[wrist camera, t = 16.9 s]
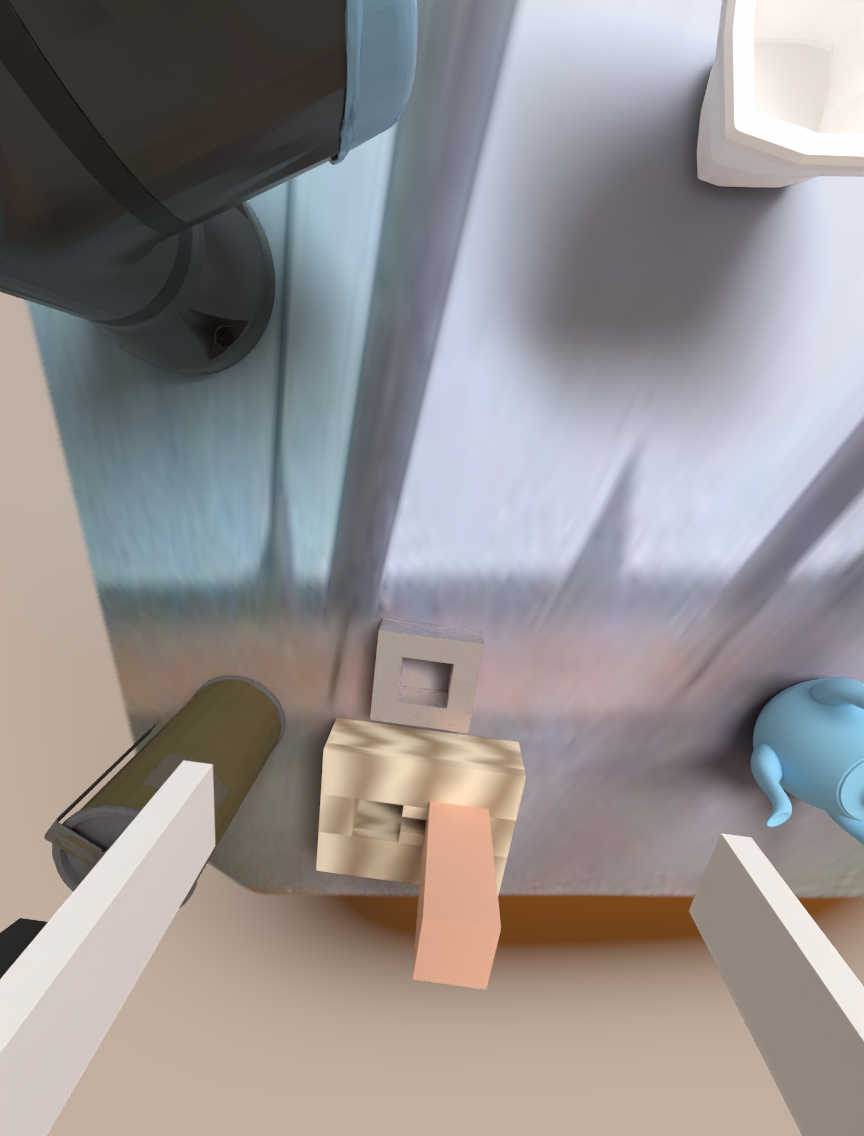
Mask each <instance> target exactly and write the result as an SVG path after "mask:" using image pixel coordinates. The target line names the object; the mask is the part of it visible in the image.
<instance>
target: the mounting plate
mask: <svg viewBox="0 0 864 1136" xmlns="http://www.w3.org/2000/svg"><path fill="white" fill-rule="evenodd" d="M525 779H526V774H525V770H524V765H523V761H522V756H521V752H520V747H519V742H514V741H507V740H499V739H492V738H484V737H477V736H470V735H462V734H455V733H447V732H440V731H433V730H425V729H418V728H410V727H403V726H396V725H388V724H381V723H373V722H366V721H359V720H351V719H344V718H336V721H335V723H334V725H333V728H332V730H331V733H330V735H329V737H328V740H327V742H326V745H325V747H324V750H323V767H322V783H321V800H320V816H319V833H318V849H317V866H316V871H324V872H331V873H338V874H346V875H353V876H360V877H367V878H375V879H382V880H389V881H397V882H404V883H411V884H418V885H420V871H421V857H422V849H423V842H424V836H425V829H426V823H427V817H428V810H429V804H430V801H434V802H442V803H449V804H456V805H464V806H471V807H478V808H486V809H489V815H490V825H491V835H492V845H493V854H494V864H495V874H496V884H497V894H498V895H499V891H500V886H501V882H502V878H503V873H504V869H505V865H506V861H507V856H508V852H509V848H510V844H511V839H512V835H513V831H514V826H515V822H516V818H517V814H518V809H519V805H520V801H521V797H522V792H523V788H524V784H525Z"/></svg>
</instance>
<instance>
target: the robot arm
mask: <svg viewBox="0 0 864 1136" xmlns="http://www.w3.org/2000/svg"><path fill="white" fill-rule="evenodd" d="M416 58H417V0H0V292H3V293H6V294H9V295H12V296H16V297H18V298H22V299H25V300H28V301H31V302H34V303H37V304H41V305H44V306H47V307H50V308H53V309H56V310H59V311H62V312H65V313H68V314H71V315H74V316H78V317H81V318H84V319H87V320H89V321H90V322H91V323H93V324H94V325H95V326H96V327H98V328H99V329H100V330H101V331H103V332H104V333H105V334H106V335H108V336H109V337H110V338H111V339H113V340H114V341H115V342H116V343H118V344H119V345H120V346H121V347H123V348H124V349H125V350H127V351H128V352H130V353H131V354H133V355H134V356H136V357H138V358H140V359H142V360H144V361H146V362H148V363H150V364H153V365H155V366H158V367H162V368H166V369H170V370H174V371H178V372H182V373H188V374H206V373H212V372H216V371H219V370H222V369H225V368H227V367H229V366H231V365H233V364H235V363H236V362H238V361H239V360H241V359H242V358H243V357H244V356H246V355H247V354H248V353H249V352H250V351H251V349H252V348H253V347H254V346H255V345H256V343H257V342H258V340H259V339H260V337H261V336H262V334H263V332H264V330H265V328H266V325H267V323H268V320H269V317H270V314H271V310H272V306H273V300H274V289H275V276H274V266H273V259H272V255H271V250H270V247H269V243H268V240H267V238H266V235H265V232H264V230H263V228H262V226H261V224H260V222H259V220H258V218H257V216H256V214H255V213H254V211H253V210H252V208H251V207H250V205H249V204H248V202H247V200H249V199H251V198H253V197H255V196H257V195H259V194H262V193H264V192H266V191H268V190H270V189H272V188H274V187H276V186H278V185H280V184H282V183H284V182H286V181H288V180H290V179H292V178H294V177H296V176H298V175H301V174H303V173H305V172H307V171H309V170H311V169H313V168H315V167H317V166H319V165H321V164H323V163H325V162H327V161H329V162H330V163H331V164H332V165H334V164H338V163H340V162H341V161H342V160H344V158H345V157H346V155H347V154H348V152H349V151H350V150H352V149H353V148H355V147H357V146H359V145H360V144H362V143H364V142H366V141H368V140H369V139H371V138H373V137H375V136H376V135H378V134H380V133H382V132H384V131H385V130H387V129H389V128H390V127H392V126H393V125H394V124H395V123H396V122H397V121H398V120H399V118H400V117H401V116H402V114H403V111H404V109H405V107H406V104H407V102H408V100H409V96H410V93H411V91H412V86H413V82H414V78H415V70H416ZM214 847H215V817H214V785H213V764H206V763H199V762H192V761H184V760H183V761H182V763H181V764H180V765H179V766H178V767H177V769H176V770H175V771H174V772H173V773H172V775H171V776H170V777H169V778H168V779H167V781H166V782H165V783H164V784H163V785H162V787H161V788H160V789H159V790H158V791H157V793H156V794H155V795H154V796H153V797H152V798H151V800H150V801H149V802H148V803H147V804H146V806H145V807H144V808H143V809H142V810H141V812H140V813H139V814H138V815H137V816H136V818H135V819H134V820H133V821H132V822H131V824H130V825H129V826H128V827H127V828H126V830H125V831H124V832H123V833H122V834H121V836H120V837H119V838H118V839H117V840H116V842H115V843H114V844H113V845H112V846H111V847H110V849H109V850H108V851H107V852H106V853H105V855H104V856H103V857H102V858H101V859H100V861H99V862H98V863H97V864H96V865H95V867H94V868H93V869H92V870H91V871H90V873H89V874H88V875H87V876H86V877H85V879H84V880H83V881H82V882H81V883H80V885H79V886H78V887H77V888H76V889H75V891H74V892H73V893H72V894H71V895H70V897H69V898H68V899H67V900H66V901H65V902H64V904H63V905H62V906H61V907H60V908H59V910H58V911H57V912H56V913H55V914H54V916H53V917H52V918H51V919H50V921H49V922H44V921H36V920H30V919H22V918H20V919H18V920H17V921H16V922H14V923H13V924H12V925H10V926H9V927H8V928H6V929H5V930H4V931H2V932H1V933H0V1136H47V1134H48V1133H49V1131H50V1129H51V1128H52V1126H53V1124H54V1122H55V1121H56V1119H57V1117H58V1115H59V1114H60V1112H61V1110H62V1109H63V1107H64V1105H65V1103H66V1102H67V1100H68V1098H69V1097H70V1094H71V1093H72V1091H73V1089H74V1088H75V1086H76V1084H77V1083H78V1081H79V1079H80V1078H81V1076H82V1074H83V1073H84V1071H85V1069H86V1067H87V1066H88V1064H89V1062H90V1060H91V1059H92V1057H93V1055H94V1054H95V1052H96V1050H97V1048H98V1047H99V1045H100V1043H101V1042H102V1040H103V1038H104V1036H105V1035H106V1033H107V1031H108V1030H109V1028H110V1026H111V1024H112V1023H113V1021H114V1019H115V1017H116V1016H117V1014H118V1012H119V1010H120V1009H121V1007H122V1005H123V1004H124V1002H125V1000H126V999H127V997H128V995H129V993H130V992H131V990H132V988H133V986H134V985H135V983H136V981H137V980H138V978H139V976H140V975H141V973H142V971H143V969H144V968H145V966H146V964H147V963H148V961H149V959H150V957H151V956H152V954H153V952H154V950H155V949H156V947H157V945H158V943H159V942H160V940H161V938H162V937H163V935H164V933H165V932H166V930H167V928H168V926H169V925H170V923H171V921H172V920H173V918H174V916H175V914H176V913H177V911H178V909H179V908H180V906H181V904H182V902H183V901H184V899H185V897H186V895H187V894H188V892H189V890H190V889H191V887H192V885H193V883H194V882H195V880H196V878H197V877H198V875H199V873H200V871H201V870H202V868H203V866H204V865H205V863H206V861H207V859H208V858H209V856H210V854H211V853H212V851H213V849H214ZM689 912H690V914H691V916H692V918H693V920H694V922H695V924H696V926H697V928H698V929H699V932H700V934H701V936H702V937H703V940H704V942H705V944H706V946H707V947H708V949H709V952H710V953H711V955H712V957H713V959H714V961H715V963H716V965H717V967H718V969H719V971H720V973H721V975H722V977H723V979H724V981H725V983H726V985H727V987H728V989H729V991H730V993H731V995H732V997H733V999H734V1001H735V1003H736V1005H737V1007H738V1009H739V1011H740V1013H741V1015H742V1017H743V1019H744V1021H745V1023H746V1025H747V1027H748V1029H749V1031H750V1033H751V1035H752V1037H753V1039H754V1041H755V1043H756V1045H757V1047H758V1049H759V1051H760V1053H761V1055H762V1057H763V1059H764V1061H765V1063H766V1064H767V1067H768V1068H769V1070H770V1073H771V1074H772V1076H773V1078H774V1080H775V1082H776V1084H777V1086H778V1088H779V1090H780V1092H781V1094H782V1096H783V1098H784V1100H785V1102H786V1104H787V1106H788V1108H789V1110H790V1112H791V1114H792V1116H793V1118H794V1120H795V1122H796V1124H797V1126H798V1128H799V1130H800V1132H801V1134H802V1136H864V987H863V985H862V984H861V983H860V982H859V980H858V979H857V977H856V976H855V975H854V973H853V972H852V971H851V969H850V968H849V967H848V965H847V964H846V963H845V961H844V960H843V959H842V957H841V956H840V955H839V954H838V952H837V951H836V950H835V948H834V947H833V945H832V944H831V943H830V942H829V940H828V939H827V937H826V936H825V935H824V933H823V932H822V931H821V930H820V928H819V927H818V926H817V924H816V923H815V922H814V920H813V919H812V918H811V916H810V915H809V914H808V912H807V911H806V910H805V908H804V907H803V906H802V904H801V903H800V902H799V900H798V899H797V898H796V896H795V895H794V894H793V892H792V891H791V890H790V888H789V887H788V886H787V884H786V883H785V882H784V880H783V879H782V878H781V876H780V875H779V874H778V872H777V871H776V870H775V868H774V867H773V866H772V864H771V863H770V862H769V860H768V859H767V858H766V856H765V855H764V854H763V853H762V851H761V850H760V849H759V847H758V846H757V845H756V843H755V842H754V841H753V839H752V838H750V837H743V836H735V835H728V834H721V836H720V838H719V841H718V843H717V845H716V848H715V850H714V852H713V855H712V857H711V860H710V862H709V864H708V867H707V869H706V871H705V874H704V876H703V879H702V881H701V883H700V886H699V888H698V891H697V893H696V895H695V898H694V900H693V902H692V905H691V907H690V910H689Z"/></svg>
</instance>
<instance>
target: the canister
mask: <svg viewBox="0 0 864 1136" xmlns="http://www.w3.org/2000/svg"><path fill="white" fill-rule="evenodd" d="M158 722H159V721H158ZM158 722H157V723H158ZM157 723H156V724H157ZM156 724H155V725H154V726H153V727H152V728H151V729H150V730H149V731H148V732H146V733H145V734H144V735H143V736H142V737H141V738H140V739H139V740H138V741H137V742H136V743H135V744H134V745H133V746H132V747H131V748H130V749H129V750H128V751H127V752H126V753H125V754H124V755H123V756H122V757H120V758H119V759H118V760H117V761H116V762H115V763H114V764H113V765H112V766H111V767H110V768H109V769H108V770H107V771H106V772H105V773H104V774H103V775H102V776H101V777H100V778H99V779H97V781H95V782H94V783H93V784H92V785H91V786H90V787H89V788H88V789H87V790H86V791H85V792H84V793H83V794H82V795H81V796H80V797H79V798H78V799H77V800H76V801H75V802H74V803H73V804H71V805H70V806H69V807H68V808H67V809H66V810H65V811H64V812H63V813H62V814H61V815H60V816H59V817H58V818H57V820H56V821H55V822H54V823H53V825H52V826H51V828H50V829H49V830H48V832H47V833H46V834H45V839H46V840H48V841H50V842H52V843H53V845H52V855H53V859H54V862H55V865H56V868H57V871H58V873H59V875H60V877H61V878H62V880H63V881H64V883H65V884H66V885H67V886H68V887H69V888H70V889H71V890H72V891H73V892H74V891H75V889H76V888H77V887H78V886H79V885H80V883H81V882H82V881H83V880H84V879H85V877H86V876H87V875H88V874H89V873H90V871H91V870H92V869H93V868H94V867H95V865H96V864H97V863H98V862H99V861H100V859H101V858H102V857H103V856H104V855H105V853H106V852H107V851H108V850H109V849H110V847H111V846H112V845H113V844H114V843H115V842H116V840H117V839H118V838H119V837H120V836H121V834H122V833H123V832H124V831H125V830H126V828H127V827H128V826H129V825H130V824H131V822H132V821H133V820H134V819H135V818H136V816H137V815H138V814H139V813H140V812H141V810H142V809H143V808H144V807H145V806H146V804H147V803H148V802H149V801H150V800H151V798H152V797H153V796H154V795H155V794H156V793H157V791H158V790H159V789H160V788H161V787H162V785H163V784H164V783H165V782H166V781H167V779H168V778H169V777H170V776H171V775H172V773H173V772H174V771H175V770H176V769H177V767H178V766H179V765H180V764H181V763H182V761H183V760H184V761H192V762H199V763H206V764H213V785H214V817H215V847H214V849H213V851H212V853H211V854H210V856H209V858H208V859H207V861H206V863H205V865H204V866H203V868H202V870H201V871H200V873H199V875H198V877H197V878H196V880H195V882H194V883H193V885H192V887H191V889H190V890H189V892H188V894H187V895H186V897H185V899H184V901H183V902H182V904H181V906H180V908H181V907H182V906H183V905H184V904H185V903H186V902H187V901H188V899H189V898H190V897H191V895H192V894H193V891H194V890H195V887H196V885H197V880H198V878H199V876H200V874H201V873H202V871H203V869H204V867H205V866H206V864H207V862H208V861H209V859H210V857H211V855H212V854H213V852H214V850H215V848H216V847H217V845H218V843H219V842H220V840H221V838H222V836H223V835H224V833H225V831H226V829H227V828H228V826H229V824H230V822H231V821H232V819H233V817H234V816H235V814H236V812H237V810H238V809H239V807H240V805H241V803H242V802H243V800H244V798H245V797H246V795H247V793H248V791H249V790H250V788H251V786H252V784H253V783H254V781H255V779H256V777H257V776H258V774H259V772H260V771H261V769H262V767H263V765H264V764H265V762H266V760H267V758H268V757H269V755H270V753H271V751H272V750H273V748H274V747H275V746H276V745H277V744H278V743H279V741H280V740H281V738H282V736H283V732H284V727H285V718H284V713H283V710H282V708H281V705H280V703H279V702H278V700H277V699H276V697H275V696H274V695H273V694H272V693H271V692H270V691H268V690H267V689H266V688H265V687H263V686H262V685H261V684H259V683H257V682H255V681H253V680H251V679H247V678H243V677H238V676H223V677H218V678H215V679H213V680H210V681H208V682H207V683H206V684H204V685H203V686H201V687H200V688H199V690H198V691H197V692H196V694H195V696H194V697H193V698H192V699H191V700H190V701H189V702H188V703H187V704H186V705H185V706H184V707H183V708H182V709H181V710H180V711H179V712H178V713H177V714H176V715H175V716H174V717H173V718H172V719H171V720H170V721H169V722H168V723H167V724H166V725H165V726H164V727H163V728H162V729H161V730H160V731H159V732H158V733H157V734H156V735H155V736H154V737H153V738H152V739H151V740H150V741H149V742H148V743H147V744H146V745H145V746H144V747H143V748H142V749H141V750H140V751H139V752H138V753H137V754H136V755H135V756H134V757H133V758H132V759H131V760H130V761H129V762H128V763H127V764H126V765H125V766H124V767H123V768H122V769H121V770H120V771H119V772H118V773H117V774H116V775H115V776H114V777H113V778H112V779H111V780H110V781H109V782H108V783H107V784H106V785H105V786H104V787H103V788H102V789H101V790H100V791H99V792H98V793H97V794H96V795H95V796H94V797H93V798H92V799H91V800H90V801H89V802H88V803H87V804H86V805H85V806H84V807H83V808H82V809H81V810H80V811H78V812H76V813H75V814H73V815H72V816H71V817H69V818H68V819H67V820H65V822H64V823H63V824H60V823H59V821H60V820H61V819H62V818H63V817H64V816H65V815H66V814H67V813H68V812H69V811H70V810H71V809H72V808H73V807H74V806H75V805H76V804H78V803H79V802H80V801H81V800H82V799H83V798H84V797H85V796H86V795H87V794H88V793H89V792H90V791H91V790H92V789H93V788H94V787H95V786H96V785H97V784H98V783H99V782H100V781H101V780H102V779H103V778H104V777H105V776H106V775H107V774H108V773H109V772H110V771H111V770H112V769H113V768H115V767H116V765H118V763H120V762H121V761H122V760H123V759H124V758H125V757H126V756H127V755H128V754H129V753H130V752H131V751H132V750H133V749H134V748H135V747H136V746H137V745H138V744H139V743H140V742H141V741H142V740H143V739H144V738H145V737H146V736H147V735H149V733H150V732H151V731H152V730H153V728H154V727H155V726H156Z"/></svg>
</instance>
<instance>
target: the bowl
mask: <svg viewBox="0 0 864 1136" xmlns="http://www.w3.org/2000/svg"><path fill="white" fill-rule="evenodd" d="M697 174H698V179H700V180H703V181H705V182H708V183H711V184H714V185H717V186H726V187H784V186H787V185H791V184H795V183H799V182H802V181H805V180H808V179H811V178H814V177H817V176H858V177H862V176H864V0H722V6H721V14H720V22H719V31H718V40H717V49H716V58H715V61H714V64H713V67H712V69H711V72H710V76H709V80H708V84H707V88H706V92H705V96H704V101H703V105H702V109H701V114H700V124H699V133H698V143H697Z"/></svg>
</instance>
